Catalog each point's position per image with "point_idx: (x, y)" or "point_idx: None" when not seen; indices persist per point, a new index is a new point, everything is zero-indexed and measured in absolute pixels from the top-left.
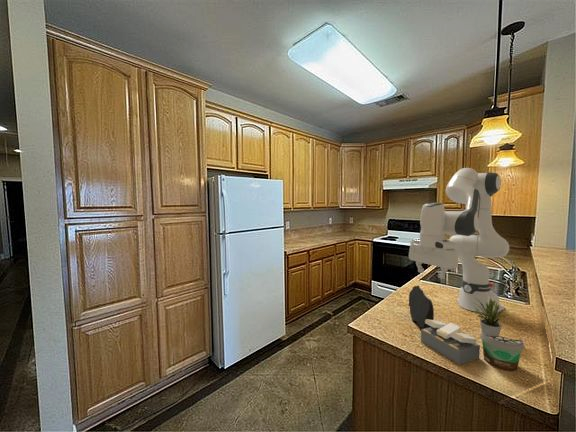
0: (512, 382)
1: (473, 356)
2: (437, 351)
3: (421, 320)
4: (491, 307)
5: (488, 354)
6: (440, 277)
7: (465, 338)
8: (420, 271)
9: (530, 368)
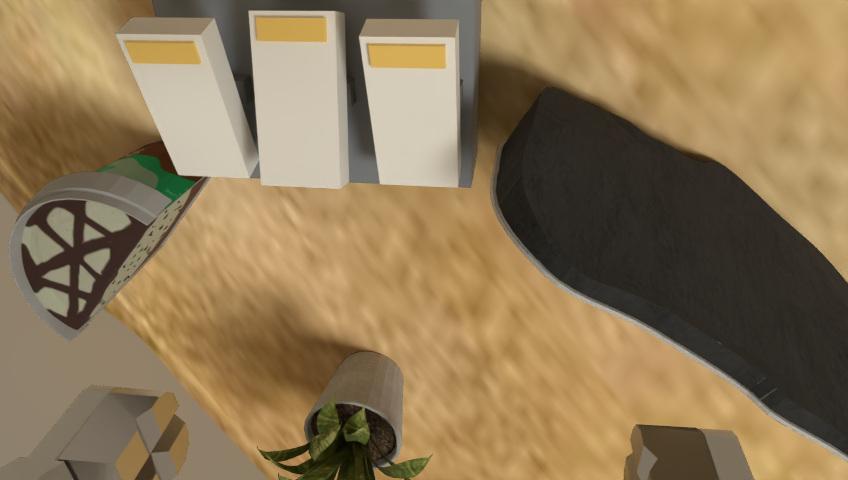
0: (50, 94)
1: None
2: None
3: (596, 129)
4: None
5: (156, 158)
6: (97, 395)
7: (134, 70)
8: (652, 442)
9: None
